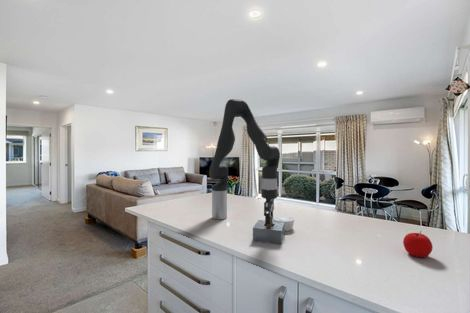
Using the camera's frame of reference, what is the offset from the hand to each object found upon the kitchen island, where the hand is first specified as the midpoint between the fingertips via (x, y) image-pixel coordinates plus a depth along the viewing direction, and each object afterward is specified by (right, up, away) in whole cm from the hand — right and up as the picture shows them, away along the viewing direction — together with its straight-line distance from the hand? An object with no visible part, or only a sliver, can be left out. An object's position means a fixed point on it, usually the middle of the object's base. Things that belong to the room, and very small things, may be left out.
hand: (269, 221), depth 110 cm
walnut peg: (0, -8, 0) cm, 8 cm away
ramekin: (+10, -8, +14) cm, 19 cm away
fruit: (+56, -8, -19) cm, 60 cm away
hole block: (0, -8, 0) cm, 8 cm away
